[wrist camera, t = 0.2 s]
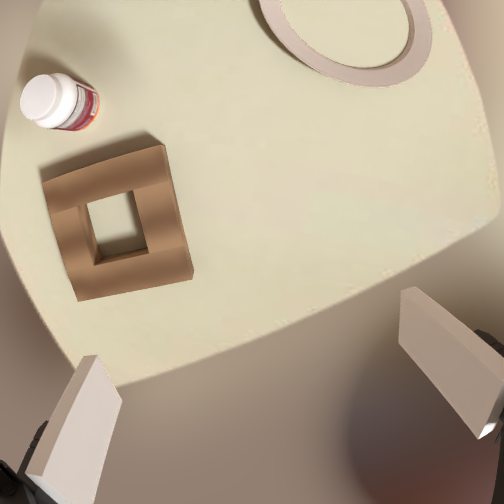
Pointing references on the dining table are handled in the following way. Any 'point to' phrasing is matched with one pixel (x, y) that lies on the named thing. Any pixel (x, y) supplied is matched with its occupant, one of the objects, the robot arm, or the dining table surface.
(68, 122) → the pill bottle
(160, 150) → the socket block
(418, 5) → the plate
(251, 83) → the dining table surface
